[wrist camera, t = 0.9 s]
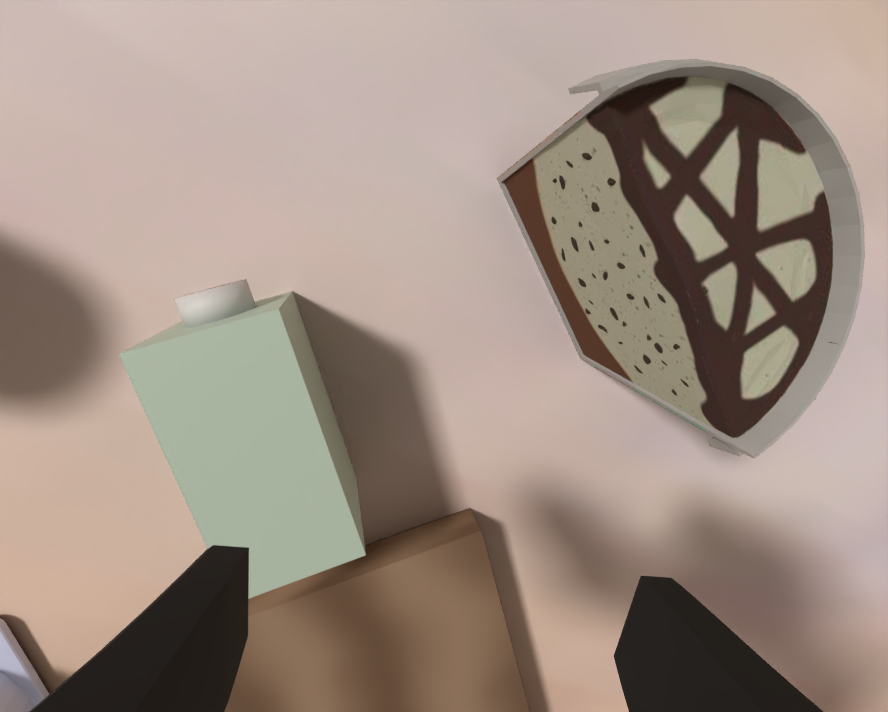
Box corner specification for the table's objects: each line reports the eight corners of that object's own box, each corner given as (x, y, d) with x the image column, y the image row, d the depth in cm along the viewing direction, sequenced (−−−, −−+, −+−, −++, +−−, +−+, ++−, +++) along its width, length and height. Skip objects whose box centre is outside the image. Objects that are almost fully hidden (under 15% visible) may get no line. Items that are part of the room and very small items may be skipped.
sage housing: (257, 511, 22) (233, 604, 16) (169, 298, 20) (103, 321, 14) (356, 477, 23) (365, 555, 17) (284, 267, 20) (267, 276, 14)
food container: (692, 321, 25) (916, 368, 15) (591, 383, 24) (759, 472, 15) (602, 77, 21) (822, -57, 12) (481, 145, 21) (609, 61, 11)
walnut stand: (294, 848, 27) (291, 894, 25) (179, 612, 22) (165, 647, 20) (532, 741, 29) (546, 776, 27) (469, 508, 24) (481, 530, 22)
